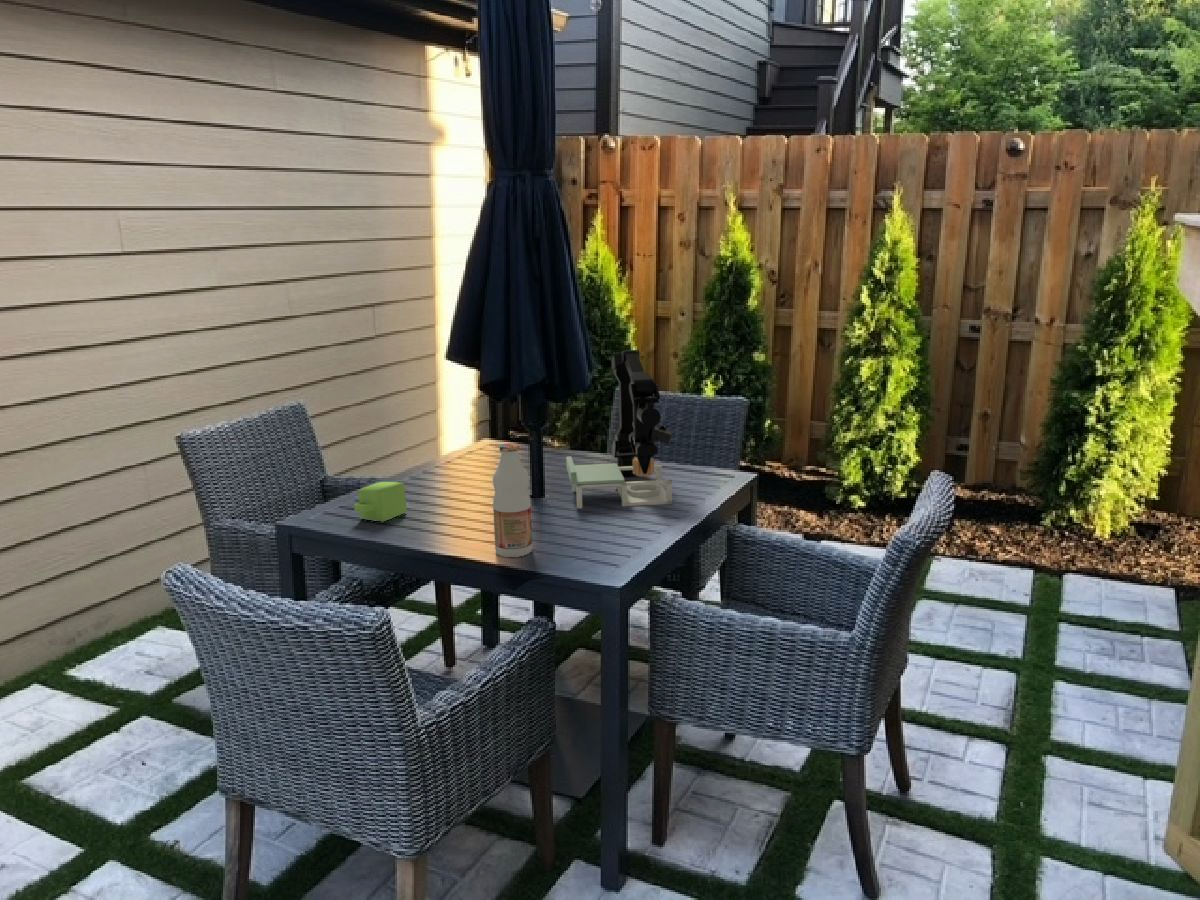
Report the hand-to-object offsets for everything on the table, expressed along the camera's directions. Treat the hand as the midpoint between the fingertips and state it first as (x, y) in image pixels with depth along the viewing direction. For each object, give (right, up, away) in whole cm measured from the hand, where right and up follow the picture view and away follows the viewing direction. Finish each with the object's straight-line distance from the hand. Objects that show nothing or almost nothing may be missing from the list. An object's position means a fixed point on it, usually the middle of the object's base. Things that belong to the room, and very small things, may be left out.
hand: (643, 470), depth 287 cm
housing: (-7, -8, +1) cm, 11 cm away
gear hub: (0, -1, 0) cm, 1 cm away
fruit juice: (-35, -20, -45) cm, 60 cm away
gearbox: (-76, -13, -12) cm, 78 cm away
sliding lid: (-15, -1, -1) cm, 15 cm away
